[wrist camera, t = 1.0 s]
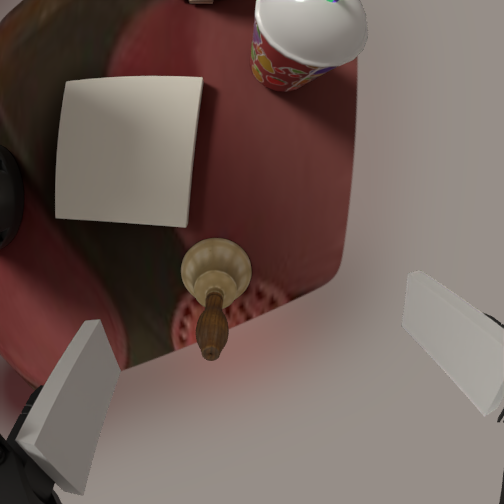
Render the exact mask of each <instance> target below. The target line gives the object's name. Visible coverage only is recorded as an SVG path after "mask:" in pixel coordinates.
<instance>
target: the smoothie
mask: <svg viewBox="0 0 504 504" xmlns="http://www.w3.org/2000/svg"><path fill="white" fill-rule="evenodd" d="M367 38H368V29H367V21H366V13H365V11H364V8H363V6H362V4H361V1H360V0H256V7H255V21H254V29H253V39H252V48H251V56H250V66H251V69H252V72H253V74H254V76H255V77H256V78H257V80H258V81H259V82H260V83H262V84H263V85H264V86H266V87H267V88H270V89H273V90H275V91H283V92H287V91H292V90H296V89H298V88H300V87H302V86H303V85H305V84H307V83H308V82H310V81H312V80H314V79H316V78H317V77H319V76H321V75H323V74H325V73H326V72H328V71H330V70H332V69H334V68H336V67H338V66H340V65H342V64H345V63H347V62H349V61H352V60H354V59H355V58H356V57H357V56H358V55H359V54H360V53H361V52H362V51H363V49H364V46H365V44H366V41H367Z"/></svg>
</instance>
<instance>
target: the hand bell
mask: <svg viewBox="0 0 504 504" xmlns="http://www.w3.org/2000/svg"><path fill="white" fill-rule="evenodd" d="M251 275H252V269H251V263H250V260H249V258H248V256H247V254H246V253H245V251H244V250H243V249H242V248H241V247H240V246H238V245H237V244H236V243H234V242H232V241H230V240H227V239H222V238H209V239H205V240H202V241H200V242H198V243H196V244H195V245H193V246H192V247H191V248H190V249H189V250H188V252H187V253H186V254H185V256H184V258H183V261H182V265H181V277H182V280H183V283H184V285H185V287H186V288H187V290H188V291H189V292H190V293H191V294H192V295H193V296H194V297H195V298H196V299H197V301H198V302H199V303H200V304H201V305H203V306H204V307H205V311H203V313H202V314H201V315H200V317H199V319H198V322H197V327H196V339H197V343H198V345H199V347H200V349H201V352H202V356H203V357H204V358H205V359H206V360H209V361H213V360H216V359H217V358H219V355H220V353H221V351H222V349H223V348H224V346H225V344H226V342H227V339H228V322H227V319H226V317H225V315H224V313H223V312H222V309H223V308H226V307H227V306H229V305H230V304H231V303H232V302H233V301H234V300H235V299H236V298H238V297H239V296H240V295H241V294H243V292H244V291H245V290H246V289H247V287H248V285H249V283H250V280H251Z"/></svg>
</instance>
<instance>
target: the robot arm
mask: <svg viewBox="0 0 504 504" xmlns="http://www.w3.org/2000/svg"><path fill="white" fill-rule="evenodd" d="M23 208H24V189H23V182H22V177H21V174H20V170H19V168H18V165H17V163H16V161H15V159H14V157H13V156H12V155H11V153H10V152H9V151H8V150H7V149H6V148H4V147H3V146H1V145H0V249H2V248H4V247H5V246H7V245H8V244H9V243H10V242H11V241H12V240H13V238H14V237H15V235H16V234H17V231H18V229H19V227H20V224H21V220H22V215H23ZM401 326H402V327H403V328H404V329H405V330H406V331H407V332H408V333H409V334H410V335H411V337H412V338H413V339H414V340H415V341H416V342H417V343H418V344H419V345H420V346H421V347H422V348H423V349H424V350H425V351H426V352H427V353H428V354H429V356H430V357H432V359H433V360H434V361H435V362H436V363H437V364H438V365H439V366H440V367H441V368H442V369H443V371H444V372H445V373H446V374H447V375H448V376H449V377H450V378H451V379H452V380H453V382H454V383H455V384H456V385H457V386H458V387H459V388H460V389H461V390H462V391H463V393H464V394H465V395H466V396H467V397H468V398H469V400H470V401H471V402H472V403H473V404H474V405H475V406H476V408H477V409H478V410H479V411H480V412H481V413H482V414H483V416H484V417H485V416H487V415H488V414H490V413H491V412H493V411H494V410H496V409H497V408H498V407H499V405H500V403H501V401H502V399H503V397H504V325H503V324H502V325H501V323H500V322H499V321H498V320H496V319H495V318H494V317H492V316H489V315H487V314H485V313H482V312H480V311H479V310H478V309H477V308H475V307H474V306H472V305H471V304H469V303H468V302H467V301H465V300H464V299H463V298H461V297H460V296H458V295H457V294H455V293H454V292H452V291H451V290H450V289H448V288H447V287H445V286H444V285H442V284H441V283H439V282H438V281H436V280H435V279H433V278H432V277H430V276H429V275H427V274H426V273H424V272H423V271H421V270H420V271H416V272H411V273H408V277H407V287H406V295H405V303H404V311H403V318H402V324H401ZM120 372H121V370H120V368H119V366H118V363H117V361H116V359H115V356H114V354H113V351H112V349H111V346H110V344H109V341H108V339H107V336H106V334H105V331H104V328H103V326H102V323H101V320H100V319H99V320H87V321H84V323H83V324H82V326H81V327H80V329H79V330H78V332H77V333H76V335H75V336H74V338H73V339H72V341H71V343H70V344H69V346H68V347H67V349H66V350H65V352H64V354H63V355H62V357H61V358H60V360H59V362H58V363H57V365H56V367H55V368H54V370H53V372H52V373H51V375H50V377H49V378H48V380H47V382H46V383H45V385H44V386H42V385H41V386H40V387H39V388H38V389H36V390H35V391H34V392H33V393H32V394H31V396H30V398H29V400H28V401H27V403H26V406H24V408H23V410H22V414H20V416H19V417H18V419H17V421H16V423H15V425H14V427H13V429H12V431H11V432H10V434H9V436H8V438H7V440H5V439H4V438H3V437H2V436H1V434H0V504H62V503H61V501H60V499H59V497H58V495H57V494H56V493H55V491H54V490H53V487H54V483H56V484H57V485H58V486H59V487H60V488H61V489H62V490H63V491H65V492H69V493H74V494H78V495H84V491H85V487H86V483H87V478H88V475H89V471H90V468H91V464H92V460H93V457H94V453H95V450H96V446H97V443H98V439H99V436H100V433H101V429H102V426H103V423H104V420H105V417H106V413H107V410H108V407H109V404H110V401H111V398H112V395H113V392H114V389H115V386H116V383H117V380H118V378H119V375H120ZM503 416H504V409H503V411H502V412H501V414H500V416H499V417H498V421H497V422H500V421H501V419H502V418H503ZM503 422H504V421H503ZM499 504H504V473H503V482H502V491H501V497H500V503H499Z"/></svg>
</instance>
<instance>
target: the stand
mask: <svg viewBox="0 0 504 504" xmlns="http://www.w3.org/2000/svg"><path fill="white" fill-rule="evenodd" d="M203 84H204V81H203V78H202V77H182V76H127V77H108V78H95V79H84V80H75V81H67V82H66V85H65V91H64V97H63V103H62V110H61V117H60V125H59V135H58V145H57V159H56V180H55V218H60V219H76V220H91V221H106V222H120V223H133V224H147V225H159V226H172V227H184V228H186V227H187V225H188V218H189V205H190V193H191V182H192V172H193V162H194V152H195V144H196V135H197V127H198V119H199V112H200V104H201V97H202V90H203Z"/></svg>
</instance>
